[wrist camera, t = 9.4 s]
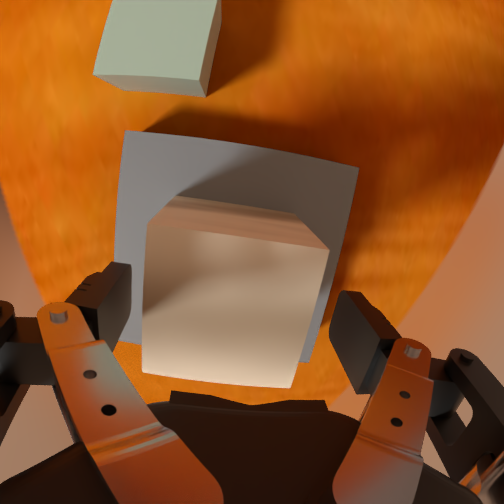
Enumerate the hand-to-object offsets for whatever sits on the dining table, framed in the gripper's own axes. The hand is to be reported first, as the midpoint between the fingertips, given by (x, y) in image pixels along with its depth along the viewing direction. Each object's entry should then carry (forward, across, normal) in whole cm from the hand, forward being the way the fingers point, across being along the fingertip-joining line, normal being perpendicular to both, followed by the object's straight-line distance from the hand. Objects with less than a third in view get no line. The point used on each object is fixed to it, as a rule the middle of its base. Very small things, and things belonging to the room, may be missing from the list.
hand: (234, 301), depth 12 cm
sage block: (+8, +5, -11) cm, 14 cm away
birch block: (+5, 0, 0) cm, 5 cm away
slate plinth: (+8, 0, 0) cm, 8 cm away
